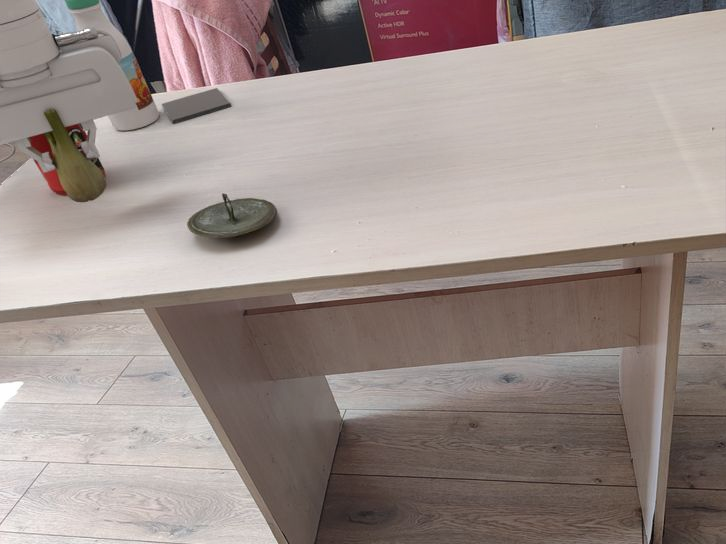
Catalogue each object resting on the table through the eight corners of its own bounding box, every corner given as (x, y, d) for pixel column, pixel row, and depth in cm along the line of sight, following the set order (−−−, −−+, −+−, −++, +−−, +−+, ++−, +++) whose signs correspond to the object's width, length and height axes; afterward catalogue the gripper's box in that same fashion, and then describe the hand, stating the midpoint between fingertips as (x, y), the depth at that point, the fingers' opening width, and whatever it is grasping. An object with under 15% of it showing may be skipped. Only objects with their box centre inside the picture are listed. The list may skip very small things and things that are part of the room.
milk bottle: (131, 134, 111) (70, 2, 97) (104, 128, 114) (42, 0, 101) (169, 115, 115) (115, -13, 102) (142, 110, 119) (86, -15, 106)
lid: (188, 262, 80) (169, 232, 76) (206, 203, 86) (189, 172, 82) (274, 257, 80) (260, 227, 75) (287, 198, 85) (275, 167, 81)
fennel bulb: (73, 191, 88) (24, 100, 80) (112, 182, 89) (67, 90, 81) (69, 211, 84) (16, 116, 76) (110, 201, 85) (63, 106, 77)
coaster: (173, 123, 112) (171, 120, 112) (162, 107, 119) (161, 103, 119) (231, 106, 115) (230, 102, 115) (218, 91, 122) (216, 87, 122)
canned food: (81, 198, 94) (39, 122, 87) (39, 194, 97) (-5, 120, 90) (119, 172, 99) (82, 98, 92) (78, 169, 102) (40, 97, 95)
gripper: (105, 17, 79) (153, 130, 88) (-91, 62, 73) (-17, 179, 82) (111, 29, 75) (161, 146, 84) (-96, 77, 69) (-18, 199, 78)
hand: (71, 163), depth 83 cm, fingers closed on fennel bulb, 4 cm apart
